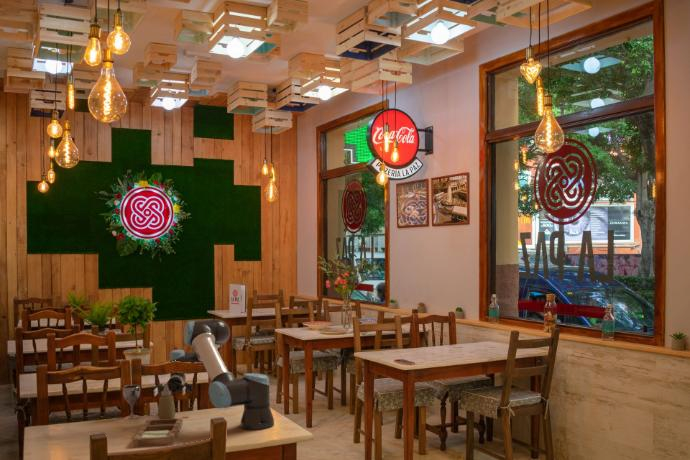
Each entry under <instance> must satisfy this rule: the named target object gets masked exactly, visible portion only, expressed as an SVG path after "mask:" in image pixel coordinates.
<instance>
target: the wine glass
mask: <svg viewBox="0 0 690 460" xmlns="http://www.w3.org/2000/svg"><path fill="white" fill-rule="evenodd" d="M122 391H123V392H122V394H123V398H124V400H125V401H126V402H127V403H128V404H129V405H130V415H128V416H127V415H126V416H125V417H124V419H125V418H131V419H130V420H133V418H135V419H139V418H140V417H141V416H140V415H137V414H134V405H135V403H136V402H137V400H138V399H139V397H140V392H141V385H140V384H127V385H124V386H122Z"/></svg>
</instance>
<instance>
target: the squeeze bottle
mask: <svg viewBox="0 0 690 460" xmlns="http://www.w3.org/2000/svg"><path fill="white" fill-rule="evenodd" d="M163 385H164V390H163V391H162V392H160V395H161V396H160V397H159V398H158V407H157V416H158V420H159V419H175V417H176V408H175V401H174V400H175V399H174V396H173V395H172V392H171V391H169V389H168V385H167V383H164V384H163Z"/></svg>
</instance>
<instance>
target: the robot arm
mask: <svg viewBox="0 0 690 460" xmlns="http://www.w3.org/2000/svg"><path fill="white" fill-rule="evenodd" d="M183 328H184V329H183V343H184V345H185V346H186V347H190V346H191V349H192V350H193V352H185V350H184V349H175V350H171V351H170V353H169V363H170V362H172V361H175V360H176V361H180V362H191V363H194V362H203V364H204V365H203V366H204V369H205V371H206V373H207V374H208V377H209V379H210V382H209V386H208V395H209V397H208V398H209V400H210V402H211V405H213V407H214V408H216V409H227V408H232V407H238V406H242V405H243V406H244V407H243V412H242V415H241V419H240V428H241V429H244V430H251V431H252V430H253V431H254V430H255V431H256V430H264V429H269V428H271V427H273V426H274V425H275V419H274V415H273V412H272V410H271V405H270V404H271V401H270V400H271V399H270V398H271V397H270V396H271V395H270V393H271V392H270V378H269V376H268V375H266V374H263V373H252V372H251V373H248V372H247V373H244V374H243V375H242V378H236V377H235V375H234V373H232V372H230V371H229V370H228V368H227V367H226V364H225V362H224V360H223V358H222V356H221V354H220V351H219V350H218V349H219V348H220V347H221V346H222V345H225V344H226V343H227V342H228V340H229V339H230V336H231V329H230V327H229V325H228V324H227V322H225V321H224V320H221V319H218V318H215V319H202V320H201V319H200V320H191V321H187V322H186V323H185V325H184V327H183ZM185 373H186V372H185ZM185 373H176V374H175V373H171V374H169V375H170V377H169V379H168V380H167V382H166V384H167V385H168V389H169V391H171V393H177V392H180V391H182V395H183V396H184V395H185V394H186V393H188V392H193V385H191V384H189V383H188V382H186V374H185ZM164 385H165V384H163V383H160V384H157V385H154V386H151V387H150V388H149V389H150V394H153V397H156V396H157V395H158V394H159V393H161V392H162V391H163V390H164Z"/></svg>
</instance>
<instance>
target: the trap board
mask: <svg viewBox="0 0 690 460" xmlns="http://www.w3.org/2000/svg"><path fill="white" fill-rule="evenodd" d="M182 426H183V417H179V418H175V417H174V419H159V418H158V419H148V420H146V421H145V422H144V423H143V424H142V426H141V428H140V429H139V430H138V432H137V434H136V435H135V436H134V437H133V439H132V447H133V448H140V447H141V448H142V447H154V446H170V445H172V446H173V445H174V443H175V441H176V439H177V437H178V435H179V433H180V431H181V429H182Z"/></svg>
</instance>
